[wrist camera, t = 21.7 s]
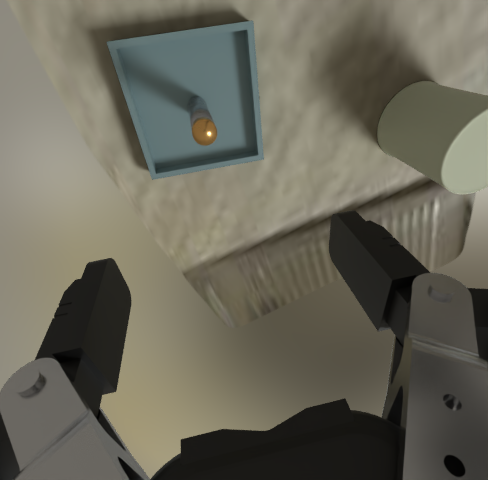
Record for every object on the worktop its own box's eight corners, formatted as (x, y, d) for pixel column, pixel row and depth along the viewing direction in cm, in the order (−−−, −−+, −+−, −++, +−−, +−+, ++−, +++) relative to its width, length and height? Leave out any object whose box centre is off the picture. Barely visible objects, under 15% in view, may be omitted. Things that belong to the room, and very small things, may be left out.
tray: (110, 41, 27) (106, 41, 25) (248, 20, 28) (253, 20, 26) (153, 172, 35) (152, 179, 33) (259, 153, 36) (263, 159, 34)
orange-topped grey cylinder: (185, 98, 31) (189, 123, 23) (204, 94, 31) (214, 117, 23) (190, 118, 32) (195, 148, 24) (208, 114, 32) (219, 142, 24)
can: (454, 122, 38) (546, 153, 29) (393, 170, 41) (458, 213, 31) (433, 61, 33) (535, 75, 24) (364, 120, 36) (431, 154, 26)
